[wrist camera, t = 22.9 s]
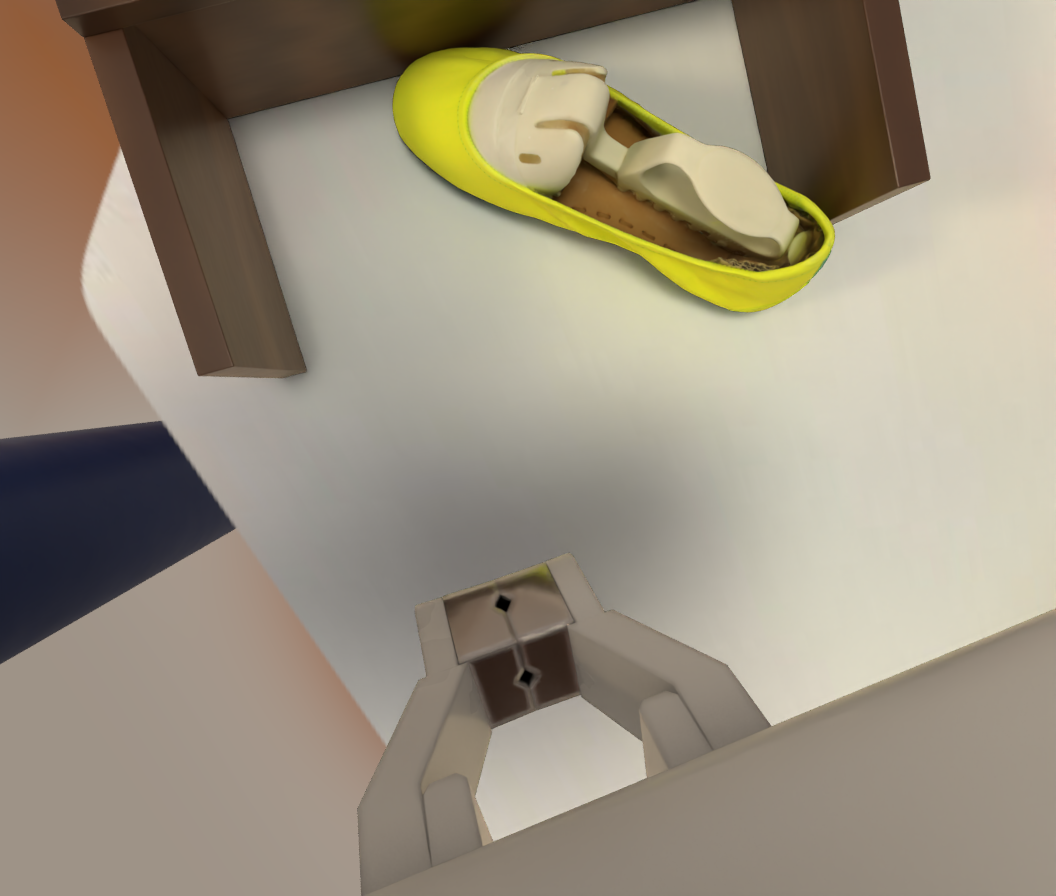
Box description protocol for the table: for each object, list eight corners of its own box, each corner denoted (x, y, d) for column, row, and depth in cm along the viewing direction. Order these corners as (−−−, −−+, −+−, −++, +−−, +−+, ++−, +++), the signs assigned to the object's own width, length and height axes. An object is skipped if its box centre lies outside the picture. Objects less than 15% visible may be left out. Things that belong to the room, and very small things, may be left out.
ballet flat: (436, 14, 33) (419, -106, 25) (816, 219, 35) (913, 171, 27) (375, 153, 33) (339, 80, 25) (753, 346, 36) (831, 334, 28)
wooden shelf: (281, 378, 34) (182, 376, 23) (191, 97, 32) (36, -52, 21) (807, 236, 35) (953, 169, 24) (749, -43, 34) (879, -254, 22)
